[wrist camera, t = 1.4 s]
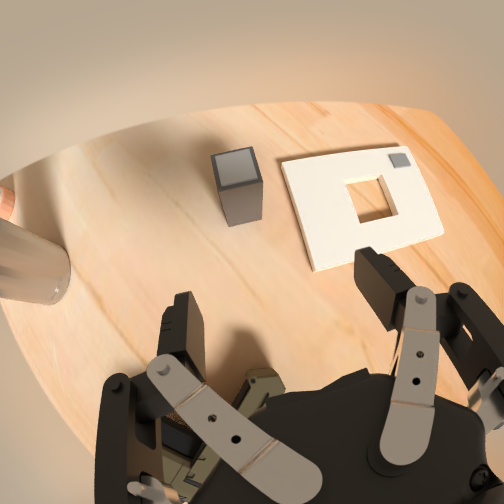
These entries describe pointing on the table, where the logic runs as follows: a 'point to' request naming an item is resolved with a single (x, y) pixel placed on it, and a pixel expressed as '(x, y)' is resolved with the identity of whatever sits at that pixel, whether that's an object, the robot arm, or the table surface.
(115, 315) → the table surface
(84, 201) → the table surface
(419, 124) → the table surface
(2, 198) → the pepper shaker
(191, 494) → the futuristic firearm
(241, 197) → the grey rectangular peg
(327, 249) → the plate
